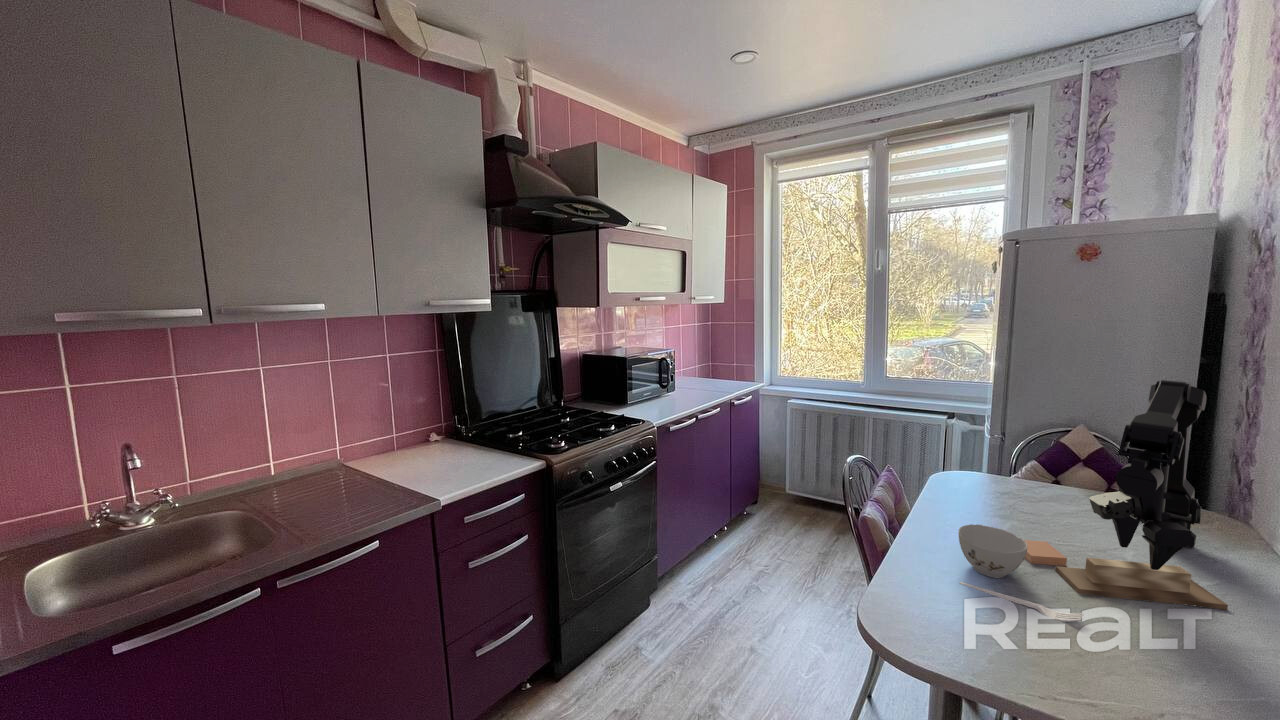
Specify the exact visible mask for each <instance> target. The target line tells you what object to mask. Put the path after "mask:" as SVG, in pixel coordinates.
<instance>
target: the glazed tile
mask: <svg viewBox="0 0 1280 720" xmlns="http://www.w3.org/2000/svg"><path fill="white" fill-rule="evenodd" d="M1023 540H1024V539H1023ZM1024 541H1025V542H1026V543H1027V546H1028V547H1027V553H1026V556H1025V558H1024V559H1025V560H1027V561H1028V563H1030V564H1036V565H1037V564H1038V565H1049V566H1050V565H1051V566H1059V567H1067V560H1068V559H1067V557H1066V556H1065V555H1063V554H1062V553H1061V552H1060V551H1059V550H1057V549H1056V548H1055V547H1054V546H1052V545H1051V544H1050V543H1049V542H1048V541H1045V540H1044V541H1042V540H1030V539H1029V540H1026V539H1025V540H1024Z"/></svg>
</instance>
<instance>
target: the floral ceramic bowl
mask: <svg viewBox="0 0 1280 720" xmlns="http://www.w3.org/2000/svg"><path fill="white" fill-rule="evenodd" d="M958 540H959V541H958V542H959V545H960V549H961V551H962V554H963V555H964V558H965V559H966V561H968V563H969V564H970V565H971V566H972V567H973V569H974V570H975V571H976V572H978V573H979V574H981V575H984V576H987V577H990V578H995V579H999V578H1004V577H1006V575H1009V574H1011V573H1013V572H1015V571H1016V570H1017V569H1018V568H1019V567H1020V566H1021V565H1022V563H1023V562H1024V561H1025V559H1026V558H1025V556H1026V553H1027V547H1028V546H1027V543H1026V542H1025V541H1024V539H1023V538H1021V537H1019V536H1017V535H1015V534H1014V533H1013V532H1010V531H1007V530H1005V529H1003V528H997V527H994V526H986V525H983V524H967V525H966V524H965V525H962V526H961V527H959V528H958Z"/></svg>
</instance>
